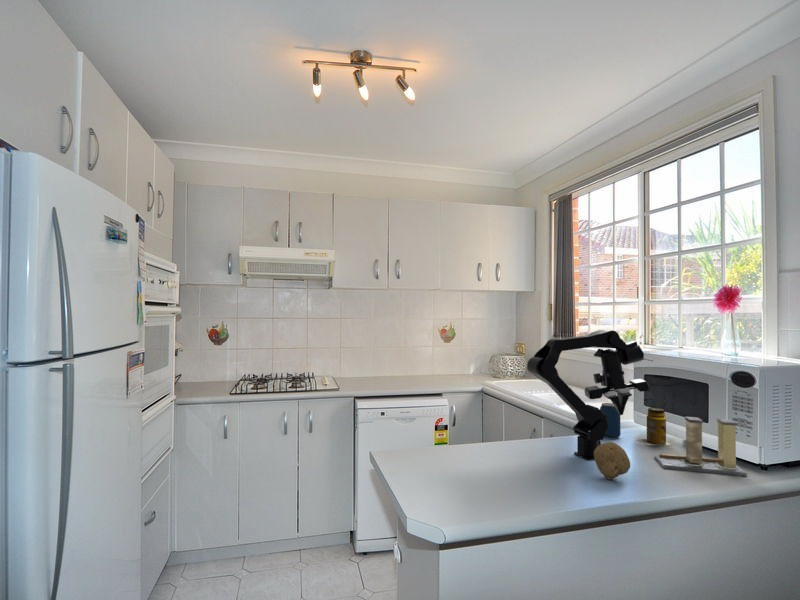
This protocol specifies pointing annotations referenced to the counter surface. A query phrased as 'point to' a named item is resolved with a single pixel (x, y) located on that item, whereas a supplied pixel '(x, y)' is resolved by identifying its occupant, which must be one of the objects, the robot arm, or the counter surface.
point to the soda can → (611, 420)
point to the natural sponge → (611, 460)
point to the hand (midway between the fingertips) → (621, 414)
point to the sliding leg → (694, 439)
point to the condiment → (655, 427)
